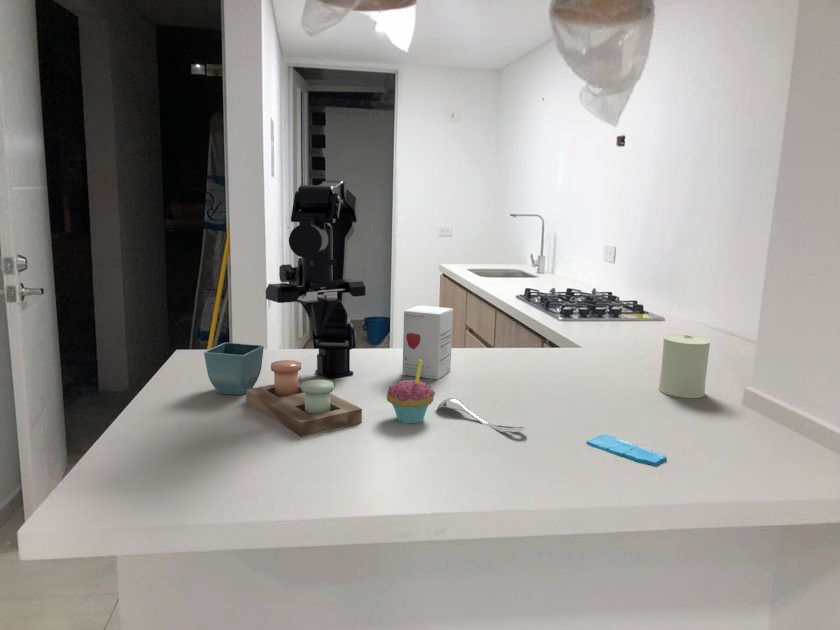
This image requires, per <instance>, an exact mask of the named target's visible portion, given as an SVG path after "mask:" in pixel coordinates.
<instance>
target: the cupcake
mask: <svg viewBox="0 0 840 630" xmlns="http://www.w3.org/2000/svg"><path fill="white" fill-rule="evenodd" d="M422 357H423V356H421V359H420V360H419V362H418V368H417V373H416V376H415V378H414V379H411V380H410V379H407V380H405V379H403V380H399V381H396V382H395V383H393V384H392V385H390V386H389V387H388V389H387V393H386V401H387V402H388V403H390V404H391V405H392V408H393V409H394V411H395V416H396V418H397V421H399V422H401V423H405V424H417V423H420V422H422V421H423V420H424V419H425V415H426V412H427V410H428V407H429V406H430V405H432V403H433V402H434V398H435V397H434V396H436V395H435V394H436V392H435V390H433V389H432V388H431V386H430V385H428V383H426V382H424V381H421V380H420V378H421V377H420V372H421V366H422Z"/></svg>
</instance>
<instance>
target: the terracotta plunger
mask: <svg viewBox="0 0 840 630" xmlns="http://www.w3.org/2000/svg"><path fill="white" fill-rule="evenodd" d="M301 369H302V363H301V362H300V361H299V360H294V359H293V360H292V359H283V360H277V361H273V362H272V363H270V370H271V371H272V372H273V374H274V375H273V376H274V378H273V380H274V382H273V383H274V384H275V395H276V396H277V397H284V396H289V395H294V394H298V380H299V371H301Z"/></svg>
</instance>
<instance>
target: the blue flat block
mask: <svg viewBox="0 0 840 630" xmlns="http://www.w3.org/2000/svg"><path fill="white" fill-rule="evenodd" d="M585 443H586V445H588V446H589V447H593V448H596V449H599V450H601V451H605V452H607V453H609V454H612V455H616V456H618V457H623V458H625V459H629V460H631V461H634V462H637V463H641V464H646V465H650V466H654V467H656V466H658V465H660V464H661V463H663V462H666V461H667V458H668V457H667V456H666V454H665V455H664V454H662V453H661V452H654V451H653V450H650V449H649V448H648V449H647V448H646V447H642V446H639V445H637V444H634V443H631V442H629V441H627V440H623V439H620V438H616V437H615V436H612V435H609V434H605V433H604V434H600V435H598V436H594V437H593V438H591V439H588V440H587V441H586V442H585Z"/></svg>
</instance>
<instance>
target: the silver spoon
mask: <svg viewBox="0 0 840 630" xmlns="http://www.w3.org/2000/svg"><path fill="white" fill-rule="evenodd" d="M444 408H448V409H454V410H459V411H461V412H464V413H466V414H468V415H469V416H471V417H473V419H475V420H476V421H478V422H479V423H480V424H482V425H484V426H486V427H489V428H491V429H493V430H494V431H496V432H498V433H516V432H522V431H525V430H528V425H527V426H525V425H521V426H520V425H515V426H514V425H500V424H494V423H491V422H488V421H486V420H485V419H483V418H481V417H480V416H478V415H477V414H476V413H474V412H473V411H472V410H470V409H469V407H468V406H467V404H465V402H464V401H462V400H461V399H459V398H457V397H449V398H447V399H446V398H445V399H444V400H443V401H441V402H440V403H438V404H437V407H436V410H438V411H439V410H442V409H444Z"/></svg>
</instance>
